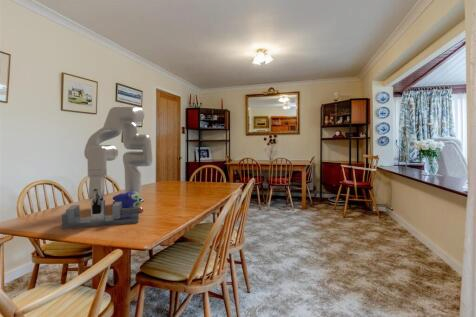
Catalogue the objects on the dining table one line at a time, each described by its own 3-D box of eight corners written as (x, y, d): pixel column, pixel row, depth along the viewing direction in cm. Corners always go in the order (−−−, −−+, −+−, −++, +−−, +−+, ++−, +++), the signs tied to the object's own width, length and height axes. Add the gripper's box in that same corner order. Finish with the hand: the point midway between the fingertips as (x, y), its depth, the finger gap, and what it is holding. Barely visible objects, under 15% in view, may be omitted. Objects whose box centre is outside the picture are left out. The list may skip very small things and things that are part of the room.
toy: (147, 205, 154) (140, 210, 139) (118, 210, 153) (107, 216, 138) (144, 188, 154) (137, 191, 139) (115, 193, 153) (104, 197, 138)
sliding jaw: (115, 214, 127) (115, 202, 127) (143, 212, 131) (143, 200, 131) (112, 219, 118) (112, 206, 118) (142, 217, 122) (142, 204, 122)
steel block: (93, 217, 122) (93, 200, 122) (105, 216, 124) (105, 199, 124) (91, 220, 118) (90, 202, 117) (103, 219, 119) (103, 201, 119)
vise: (69, 222, 122) (68, 205, 121) (138, 217, 131) (138, 201, 130) (62, 229, 112) (61, 210, 112) (137, 222, 121) (137, 205, 121)
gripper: (92, 171, 127) (93, 207, 128) (83, 175, 110) (84, 217, 111) (109, 170, 129) (110, 206, 130) (103, 174, 113) (104, 215, 113)
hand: (98, 211), depth 121 cm, fingers open, 7 cm apart
